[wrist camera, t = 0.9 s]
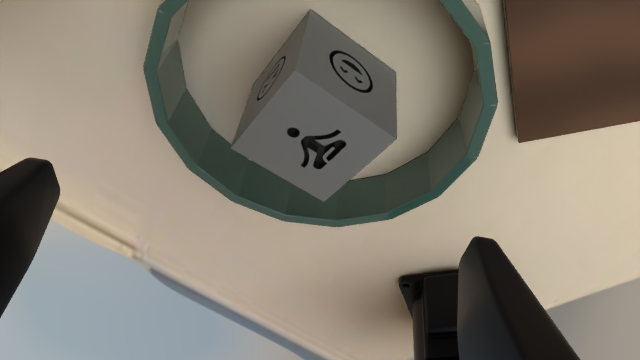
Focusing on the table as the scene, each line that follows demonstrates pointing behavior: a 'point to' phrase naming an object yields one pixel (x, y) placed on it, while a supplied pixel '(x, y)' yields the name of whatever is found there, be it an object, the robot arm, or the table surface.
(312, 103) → the dice cube
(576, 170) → the table surface
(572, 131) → the coaster board
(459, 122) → the bracelet
